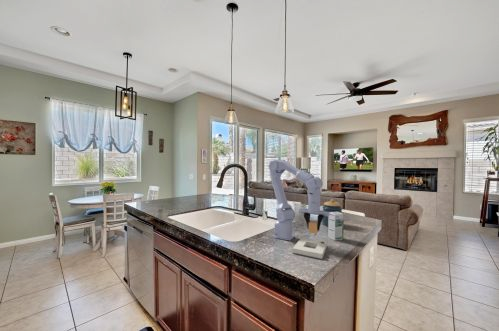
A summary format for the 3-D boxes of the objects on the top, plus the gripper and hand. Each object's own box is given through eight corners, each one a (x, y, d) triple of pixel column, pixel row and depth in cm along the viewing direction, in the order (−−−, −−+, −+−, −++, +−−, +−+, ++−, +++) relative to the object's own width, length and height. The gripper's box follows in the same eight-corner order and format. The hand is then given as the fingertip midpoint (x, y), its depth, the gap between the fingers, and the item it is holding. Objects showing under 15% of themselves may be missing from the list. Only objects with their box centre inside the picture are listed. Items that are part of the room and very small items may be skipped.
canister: (328, 221, 155) (328, 196, 155) (345, 225, 145) (346, 199, 145) (318, 224, 146) (318, 198, 146) (336, 228, 136) (336, 201, 136)
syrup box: (334, 241, 115) (335, 214, 115) (327, 237, 120) (328, 211, 120) (343, 240, 116) (344, 213, 116) (336, 236, 122) (337, 211, 122)
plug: (308, 234, 105) (308, 222, 105) (310, 231, 110) (310, 219, 110) (316, 235, 103) (317, 223, 103) (318, 232, 108) (318, 221, 108)
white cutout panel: (292, 253, 98) (292, 247, 98) (301, 242, 112) (301, 236, 112) (322, 259, 92) (322, 252, 92) (327, 247, 106) (327, 241, 106)
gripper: (330, 201, 106) (330, 229, 106) (301, 199, 113) (300, 225, 113) (328, 204, 100) (328, 233, 100) (298, 201, 106) (297, 228, 106)
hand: (313, 229), depth 106 cm, fingers closed on plug, 4 cm apart
